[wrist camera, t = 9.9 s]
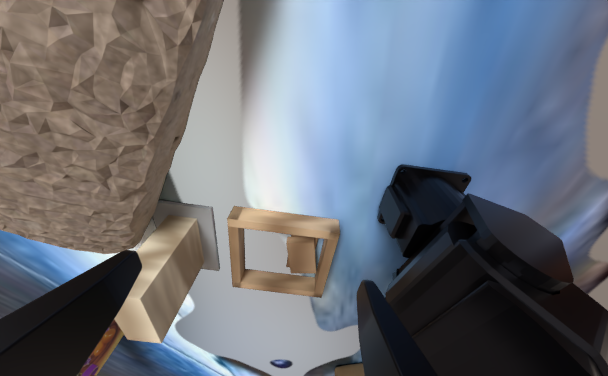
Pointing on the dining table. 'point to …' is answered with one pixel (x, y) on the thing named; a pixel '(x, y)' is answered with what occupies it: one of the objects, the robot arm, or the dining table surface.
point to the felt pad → (204, 224)
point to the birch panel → (162, 279)
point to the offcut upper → (301, 254)
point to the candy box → (102, 350)
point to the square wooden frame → (286, 225)
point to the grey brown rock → (94, 113)
